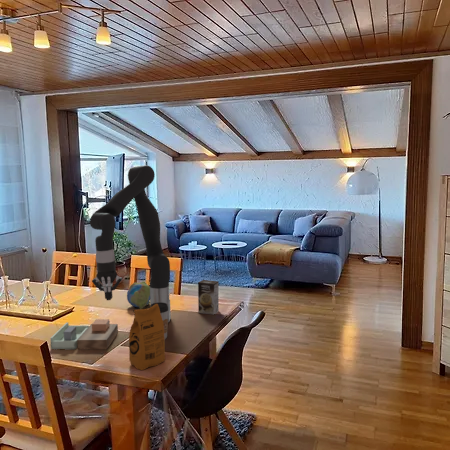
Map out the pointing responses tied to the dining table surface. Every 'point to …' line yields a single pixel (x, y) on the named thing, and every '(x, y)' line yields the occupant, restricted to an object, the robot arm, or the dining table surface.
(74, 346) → the tray
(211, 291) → the coffee box
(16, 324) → the dining table surface
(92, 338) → the grey brown flat block
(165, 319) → the coffee cup
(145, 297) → the blue green round ball
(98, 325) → the terracotta tile
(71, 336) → the slate tile
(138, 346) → the coffee package
